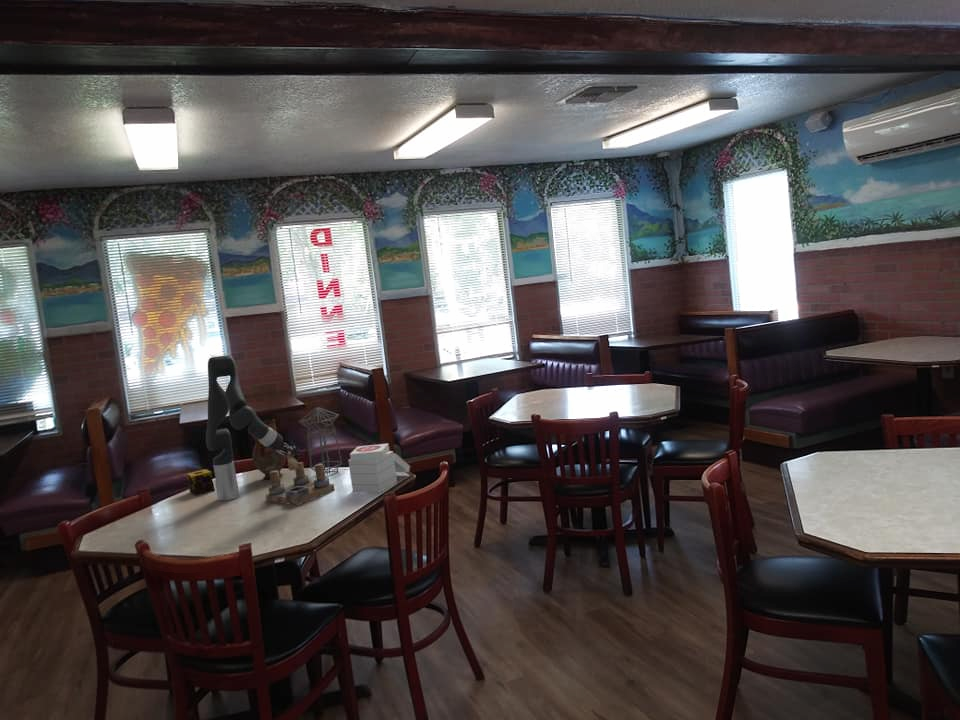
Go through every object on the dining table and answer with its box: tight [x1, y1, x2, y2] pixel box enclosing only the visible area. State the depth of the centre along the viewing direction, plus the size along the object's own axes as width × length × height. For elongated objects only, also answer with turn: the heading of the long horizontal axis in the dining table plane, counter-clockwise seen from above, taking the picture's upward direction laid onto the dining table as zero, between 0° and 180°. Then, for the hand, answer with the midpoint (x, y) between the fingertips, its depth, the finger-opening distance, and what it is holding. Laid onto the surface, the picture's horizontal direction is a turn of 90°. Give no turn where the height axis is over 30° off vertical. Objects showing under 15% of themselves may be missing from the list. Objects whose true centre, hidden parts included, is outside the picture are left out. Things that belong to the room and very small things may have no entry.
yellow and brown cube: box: [186, 468, 216, 497], centre depth 367 cm, size 10×10×10 cm
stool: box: [265, 461, 335, 506], centre depth 337 cm, size 22×22×13 cm
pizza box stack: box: [347, 443, 411, 493], centre depth 342 cm, size 19×30×18 cm, turn 155°
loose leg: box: [286, 445, 298, 471], centre depth 326 cm, size 4×4×10 cm
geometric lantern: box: [298, 406, 343, 477], centre depth 370 cm, size 16×16×35 cm
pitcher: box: [251, 418, 287, 481], centre depth 375 cm, size 17×21×30 cm
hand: (295, 458), depth 327 cm, fingers closed on loose leg, 4 cm apart
